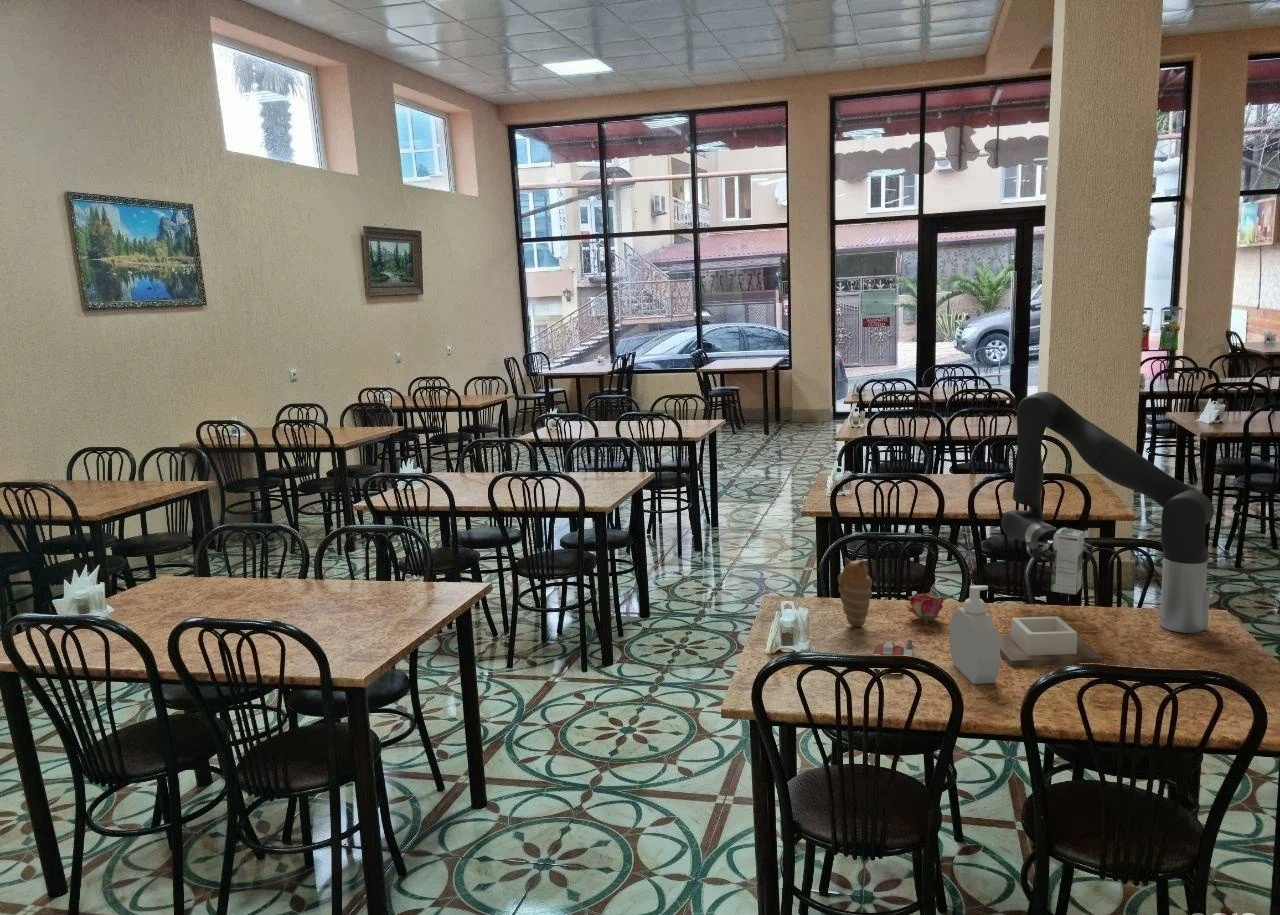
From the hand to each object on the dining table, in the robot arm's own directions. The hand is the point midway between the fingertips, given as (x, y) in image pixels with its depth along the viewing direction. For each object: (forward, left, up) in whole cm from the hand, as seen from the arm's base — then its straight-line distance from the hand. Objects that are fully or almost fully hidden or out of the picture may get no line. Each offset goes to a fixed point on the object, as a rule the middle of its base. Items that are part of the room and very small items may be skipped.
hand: (1071, 558), depth 221 cm
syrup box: (0, -2, -9) cm, 9 cm away
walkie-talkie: (+44, +10, -20) cm, 49 cm away
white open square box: (+9, +9, -18) cm, 22 cm away
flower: (+30, -14, -20) cm, 39 cm away
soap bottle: (+28, +20, -20) cm, 40 cm away
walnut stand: (+9, +9, -20) cm, 23 cm away
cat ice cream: (+48, -11, -20) cm, 53 cm away
